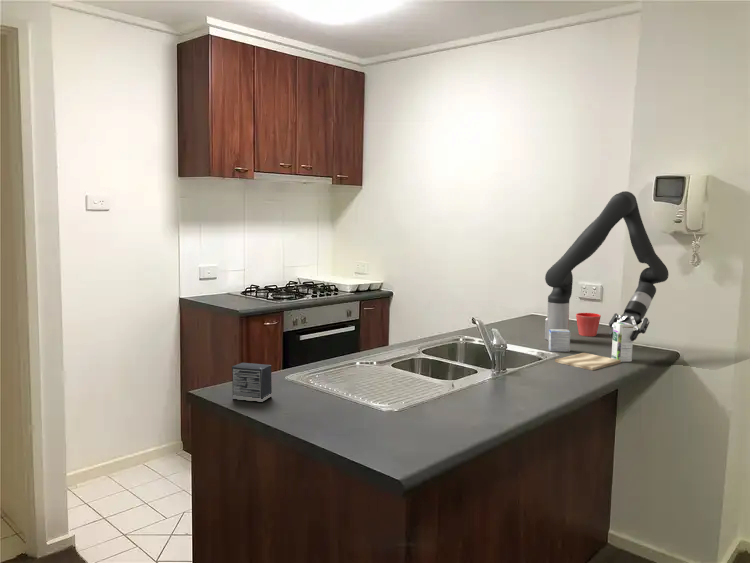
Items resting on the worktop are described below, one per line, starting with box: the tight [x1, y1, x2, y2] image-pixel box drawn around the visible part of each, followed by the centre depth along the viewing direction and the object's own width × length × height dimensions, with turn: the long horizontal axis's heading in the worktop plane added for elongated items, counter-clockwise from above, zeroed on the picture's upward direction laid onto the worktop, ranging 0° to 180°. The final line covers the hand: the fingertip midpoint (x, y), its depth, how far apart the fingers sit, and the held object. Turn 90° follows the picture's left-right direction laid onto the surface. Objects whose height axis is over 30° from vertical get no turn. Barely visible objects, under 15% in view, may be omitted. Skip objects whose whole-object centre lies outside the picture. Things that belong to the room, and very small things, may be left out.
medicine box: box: [548, 329, 571, 353], centre depth 255 cm, size 8×4×9 cm, turn 84°
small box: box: [231, 362, 273, 399], centre depth 188 cm, size 11×6×10 cm, turn 71°
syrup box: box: [610, 322, 635, 363], centre depth 238 cm, size 6×6×14 cm
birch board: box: [554, 352, 622, 371], centre depth 235 cm, size 16×19×1 cm
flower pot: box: [575, 312, 601, 337], centre depth 288 cm, size 11×11×10 cm
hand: (621, 338), depth 237 cm, fingers open, 8 cm apart
